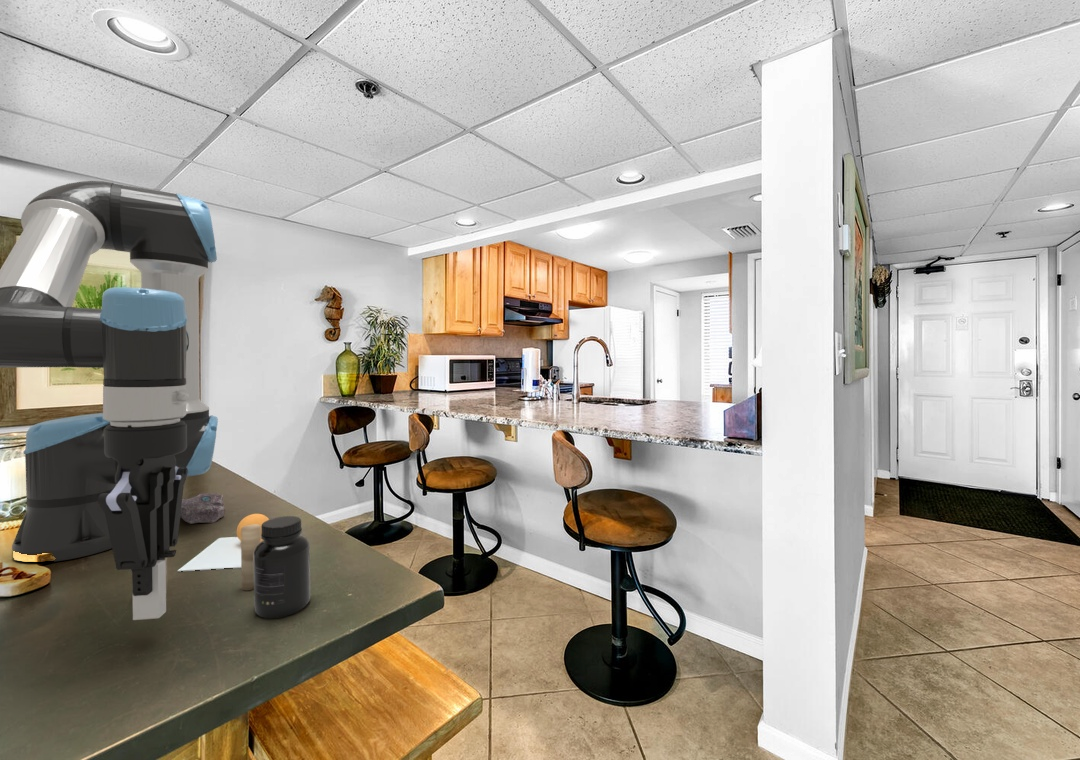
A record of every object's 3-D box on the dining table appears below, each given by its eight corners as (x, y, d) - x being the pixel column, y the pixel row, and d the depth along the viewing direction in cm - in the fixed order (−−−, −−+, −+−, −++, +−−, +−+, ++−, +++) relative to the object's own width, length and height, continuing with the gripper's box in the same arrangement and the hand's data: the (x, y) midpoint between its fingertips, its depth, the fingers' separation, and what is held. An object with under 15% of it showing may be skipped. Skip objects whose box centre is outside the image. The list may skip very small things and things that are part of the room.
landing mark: (219, 538, 88) (219, 537, 88) (299, 534, 91) (299, 533, 91) (177, 571, 74) (177, 570, 74) (273, 565, 77) (273, 564, 77)
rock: (183, 529, 93) (183, 506, 93) (171, 516, 100) (171, 495, 100) (230, 520, 99) (230, 498, 99) (215, 508, 106) (216, 488, 106)
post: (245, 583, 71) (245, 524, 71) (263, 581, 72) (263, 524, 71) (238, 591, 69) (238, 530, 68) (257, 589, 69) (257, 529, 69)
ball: (246, 520, 89) (236, 510, 85) (278, 519, 90) (269, 508, 86) (239, 550, 86) (228, 540, 82) (271, 547, 87) (262, 538, 83)
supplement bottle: (273, 593, 68) (273, 512, 68) (319, 595, 68) (319, 513, 68) (241, 619, 61) (241, 529, 61) (293, 621, 61) (292, 530, 61)
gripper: (149, 430, 50) (152, 645, 51) (210, 414, 62) (211, 587, 63) (65, 430, 48) (70, 652, 49) (145, 414, 61) (147, 591, 62)
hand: (149, 615), depth 56 cm, fingers closed
